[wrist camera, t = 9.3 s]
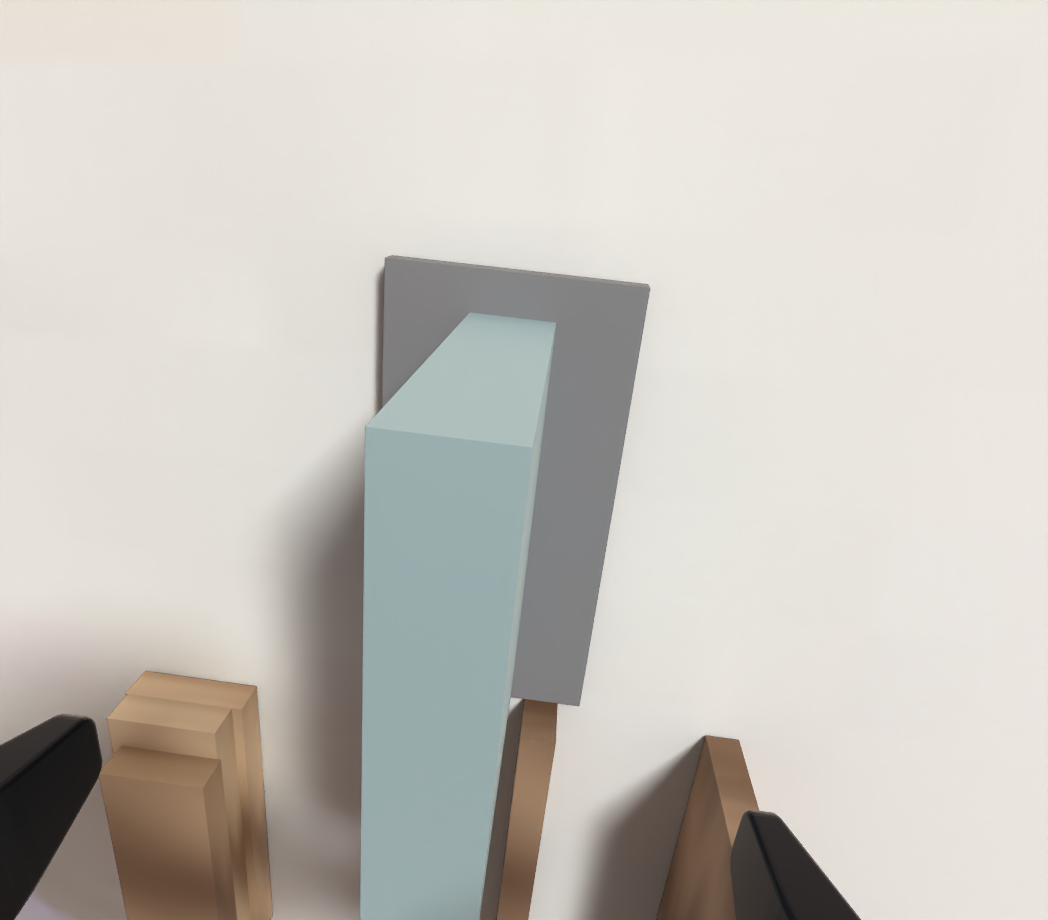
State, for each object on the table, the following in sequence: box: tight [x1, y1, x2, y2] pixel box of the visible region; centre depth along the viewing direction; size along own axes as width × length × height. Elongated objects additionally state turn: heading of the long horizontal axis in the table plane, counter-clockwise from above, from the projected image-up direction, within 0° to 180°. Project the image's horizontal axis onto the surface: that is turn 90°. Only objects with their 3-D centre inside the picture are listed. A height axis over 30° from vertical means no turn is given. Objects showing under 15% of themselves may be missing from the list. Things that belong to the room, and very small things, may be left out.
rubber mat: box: [382, 255, 650, 706], centre depth 17 cm, size 12×6×1 cm, turn 174°
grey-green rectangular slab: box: [360, 312, 556, 920], centre depth 13 cm, size 10×2×8 cm, turn 174°
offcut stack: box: [99, 671, 273, 920], centre depth 22 cm, size 11×4×3 cm, turn 174°
